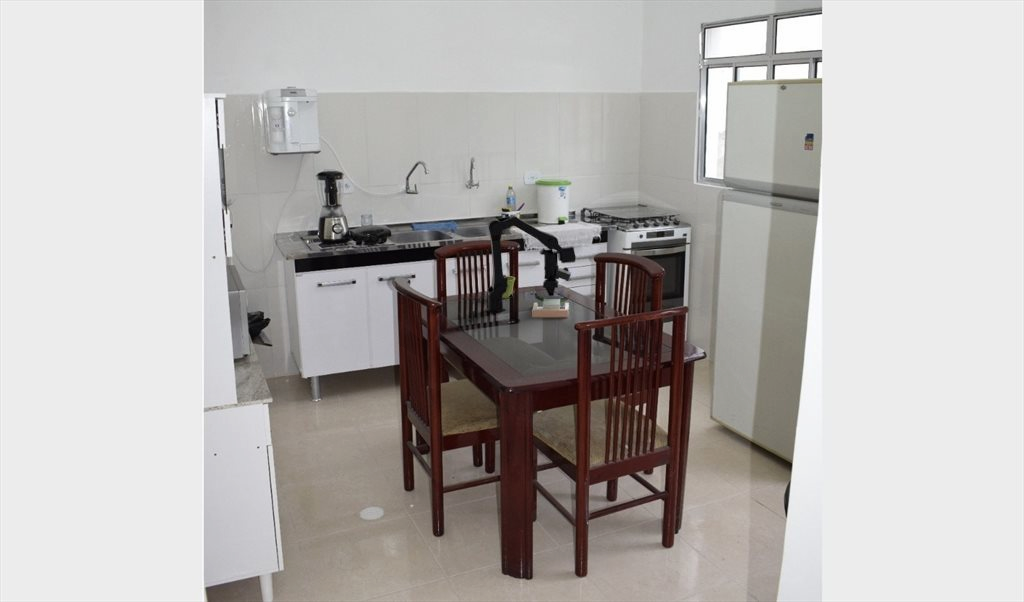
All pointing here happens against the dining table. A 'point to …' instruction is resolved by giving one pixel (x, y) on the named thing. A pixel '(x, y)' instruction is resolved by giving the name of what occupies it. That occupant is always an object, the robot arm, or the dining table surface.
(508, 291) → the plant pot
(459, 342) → the dining table surface
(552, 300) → the pale green box
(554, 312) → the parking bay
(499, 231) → the robot arm
